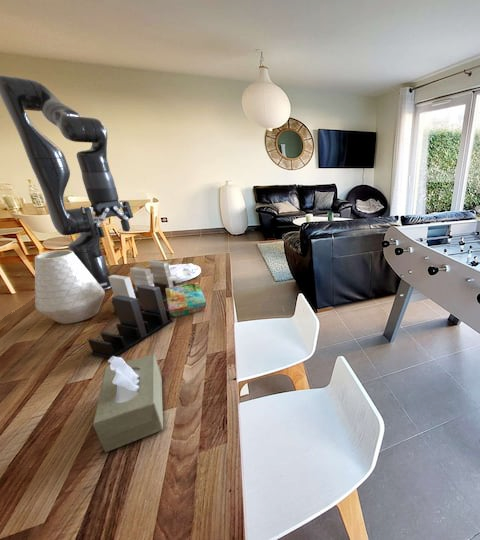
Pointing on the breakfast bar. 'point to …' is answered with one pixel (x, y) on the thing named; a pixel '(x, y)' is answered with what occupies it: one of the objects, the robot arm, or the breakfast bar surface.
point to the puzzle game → (185, 299)
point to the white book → (121, 286)
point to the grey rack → (133, 322)
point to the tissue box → (129, 402)
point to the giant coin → (183, 272)
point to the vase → (65, 288)
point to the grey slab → (160, 279)
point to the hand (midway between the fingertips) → (114, 234)
